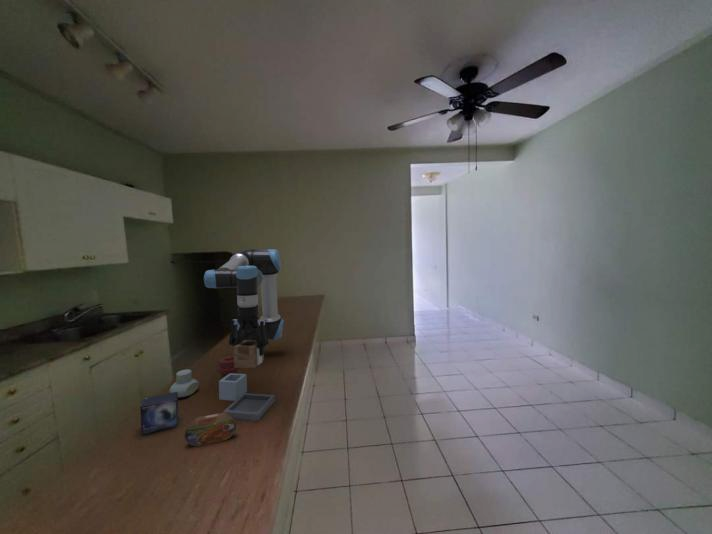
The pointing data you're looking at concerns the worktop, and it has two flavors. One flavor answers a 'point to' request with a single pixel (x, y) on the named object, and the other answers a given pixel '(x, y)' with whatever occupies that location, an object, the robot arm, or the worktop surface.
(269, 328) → the robot arm
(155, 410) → the small box
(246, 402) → the tray
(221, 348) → the worktop surface
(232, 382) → the block
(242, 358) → the brown open cube box
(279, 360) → the worktop surface
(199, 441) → the tin
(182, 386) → the air freshener
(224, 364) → the mechanical component
